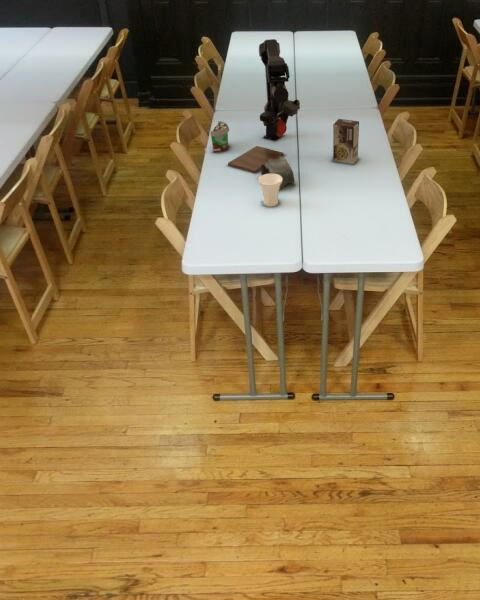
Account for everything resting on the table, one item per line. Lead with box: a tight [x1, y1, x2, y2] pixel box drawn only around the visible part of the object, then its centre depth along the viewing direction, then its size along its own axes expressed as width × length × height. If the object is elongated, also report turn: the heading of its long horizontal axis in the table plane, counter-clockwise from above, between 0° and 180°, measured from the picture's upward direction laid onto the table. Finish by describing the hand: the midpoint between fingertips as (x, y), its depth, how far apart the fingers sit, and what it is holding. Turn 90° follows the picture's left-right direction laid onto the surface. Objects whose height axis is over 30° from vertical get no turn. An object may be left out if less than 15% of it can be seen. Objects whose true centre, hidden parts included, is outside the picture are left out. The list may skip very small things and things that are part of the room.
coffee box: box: [332, 118, 360, 165], centre depth 255 cm, size 9×6×16 cm
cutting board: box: [227, 145, 284, 174], centre depth 262 cm, size 20×14×1 cm
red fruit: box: [276, 118, 288, 138], centre depth 255 cm, size 6×6×8 cm
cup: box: [257, 174, 282, 207], centre depth 229 cm, size 9×9×10 cm
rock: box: [260, 155, 295, 190], centre depth 244 cm, size 18×11×8 cm, turn 16°
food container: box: [210, 120, 230, 154], centre depth 270 cm, size 12×6×10 cm, turn 168°
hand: (279, 131), depth 256 cm, fingers closed on red fruit, 6 cm apart
